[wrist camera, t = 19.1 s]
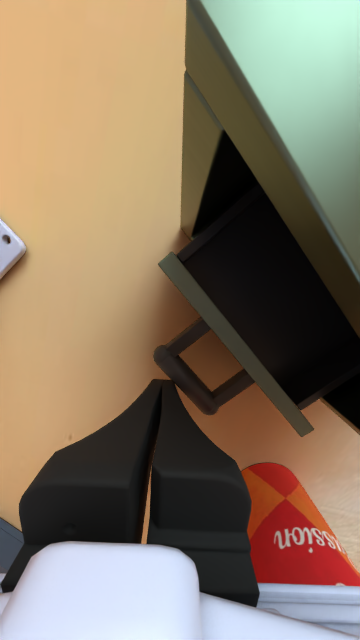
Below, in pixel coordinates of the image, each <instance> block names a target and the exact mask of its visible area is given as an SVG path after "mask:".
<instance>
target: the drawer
mask: <svg viewBox="0 0 360 640" xmlns="http://www.w3.org/2000/svg"><path fill="white" fill-rule="evenodd" d="M158 265H159V267H160V268H161V269H162V270H163V271H164V273H165V274H166V275H167V276H168V277H169V279H170V280H171V281H172V282H173V283H174V285H175V286H176V287H177V288H178V289H179V291H180V292H181V293H182V294H183V295H184V297H185V298H186V299H187V300H188V301H189V303H190V304H191V305H192V306H193V307H194V309H195V310H196V311H197V312H198V313H199V315H200V316H201V317H200V318H199V319H198V320H196V321H195V322H194V323H193V324H191V325H190V326H189V327H188V328H186V329H185V330H184V331H183V332H181V333H180V334H179V335H178V336H176V337H175V338H174V339H173V340H172V341H170V342H169V343H168V344H167V345H161V346H159V347H157V348H156V349H155V351H154V354H153V358H154V361H155V363H156V364H157V365H158V366H159V367H160V368H161V369H162V370H163V371H164V372H165V373H166V374H167V376H168V377H169V378H170V379H171V380H172V381H173V382H174V383H175V384H176V385H177V386H178V387H179V388H180V389H181V390H182V391H183V392H184V394H185V395H186V396H187V397H188V398H189V399H190V400H191V401H192V402H193V403H194V404H195V405H196V406H197V407H198V408H199V409H200V410H201V412H203V413H204V414H205V415H214V414H215V413H216V412H217V411H218V409H219V407H220V406H222V405H223V404H225V403H226V402H227V401H229V400H230V399H232V398H233V397H235V396H236V395H237V394H239V393H240V392H242V391H243V390H245V389H246V388H247V387H249V386H250V385H252V384H253V383H255V382H256V383H257V385H258V386H259V387H260V388H261V389H262V391H263V392H264V393H265V394H266V395H267V397H268V398H269V399H270V400H271V401H272V403H273V404H274V405H275V406H276V407H277V409H278V410H279V411H280V412H281V413H282V415H283V416H284V417H285V418H286V419H287V421H288V422H289V423H290V424H291V425H292V427H293V428H294V429H295V430H296V432H297V433H298V434H299V435H300V436H301V437H303V436H305V435H307V434H308V433H310V432H311V431H313V430H314V428H313V427H312V425H311V424H310V423H309V422H308V420H307V419H306V418H305V417H304V415H303V414H302V413H301V412H300V410H303V409H304V408H306V407H307V406H309V405H310V404H312V403H313V402H315V401H316V400H318V399H320V398H321V397H323V396H324V395H326V394H327V393H329V392H330V391H332V390H333V389H335V388H337V387H338V386H340V385H341V384H343V383H344V382H346V381H347V380H349V379H351V378H352V377H354V376H355V375H357V374H358V373H360V338H359V337H358V335H357V334H356V332H355V331H354V329H353V328H352V326H351V324H350V323H349V321H348V320H347V318H346V317H345V315H344V314H343V312H342V311H341V309H340V307H339V306H338V304H337V303H336V301H335V300H334V298H333V297H332V295H331V294H330V292H329V290H328V289H327V287H326V286H325V284H324V283H323V281H322V280H321V278H320V276H319V275H318V273H317V272H316V270H315V269H314V267H313V266H312V264H311V263H310V261H309V259H308V258H307V256H306V255H305V253H304V252H303V250H302V249H301V247H300V246H299V244H298V242H297V241H296V239H295V238H294V236H293V235H292V233H291V232H290V230H289V228H288V227H287V225H286V224H285V222H284V221H283V219H282V218H281V216H280V215H279V213H278V211H277V210H276V208H275V207H274V205H273V204H272V202H271V201H270V199H269V198H268V196H267V194H266V193H265V191H264V190H263V188H262V187H261V185H260V184H259V182H258V183H257V184H255V185H254V186H253V187H252V188H251V189H250V190H249V191H248V192H246V193H245V194H244V195H243V196H242V197H241V198H240V199H238V200H237V201H236V202H235V203H234V204H233V205H232V206H231V207H229V208H228V209H227V210H226V211H225V212H224V213H223V214H222V215H220V216H219V217H218V218H217V219H216V220H215V221H214V222H213V223H211V224H210V225H209V226H208V227H207V228H206V229H205V230H203V231H202V232H201V233H200V234H199V235H198V236H197V237H196V238H194V239H193V240H192V241H191V242H190V243H189V244H188V245H187V246H185V247H184V248H183V249H182V250H181V251H180V252H179V253H178V254H177V257H176V255H175V254H174V253H173V252H171V253H170V254H168V255H167V256H166V257H165V258H164V259H163V260H162V261H161V262H159V263H158ZM210 329H212V330H213V332H214V333H215V334H216V335H217V336H218V338H219V339H220V340H221V341H222V342H223V344H224V345H225V346H226V347H227V348H228V350H229V351H230V352H231V353H232V354H233V356H234V357H235V358H236V359H237V360H238V362H239V363H240V364H241V365H242V366H243V368H244V369H243V370H241V371H240V372H238V373H237V374H236V375H234V376H233V377H232V378H230V379H229V380H227V381H226V382H225V383H223V384H222V385H220V386H219V387H218V388H216V389H215V390H213V391H212V392H211V391H210V389H209V388H208V387H207V386H206V385H205V384H204V383H203V382H202V381H201V380H200V378H199V377H198V376H197V375H196V374H195V373H194V372H193V371H192V370H191V368H190V367H189V366H188V365H187V364H186V363H185V362H184V361H183V360H182V358H181V357H180V356H179V354H180V353H181V352H182V351H184V350H185V349H186V348H187V347H189V346H190V345H191V344H193V343H194V342H195V341H196V340H198V339H199V338H200V337H202V336H203V335H204V334H205V333H207V332H208V331H209V330H210ZM296 406H297V407H298V408H299V409H300V410H299V409H298V408H297V407H296Z"/></svg>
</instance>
